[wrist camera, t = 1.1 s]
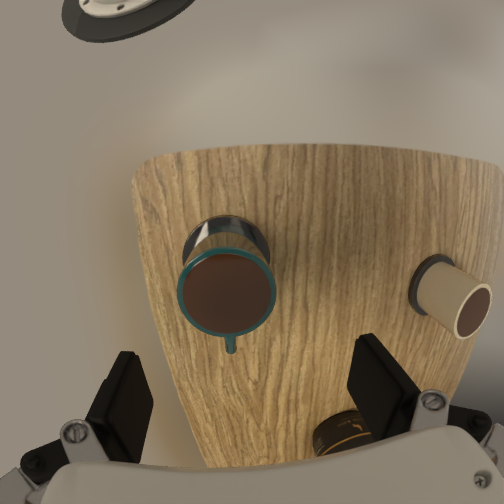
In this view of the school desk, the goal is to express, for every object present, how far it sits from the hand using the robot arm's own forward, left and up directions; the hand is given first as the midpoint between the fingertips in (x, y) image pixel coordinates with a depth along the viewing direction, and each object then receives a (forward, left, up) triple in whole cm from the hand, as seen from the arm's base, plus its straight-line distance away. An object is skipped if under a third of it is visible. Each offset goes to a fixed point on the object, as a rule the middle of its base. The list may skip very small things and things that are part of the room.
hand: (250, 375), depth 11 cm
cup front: (+1, -1, -15) cm, 15 cm away
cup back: (+5, +25, -15) cm, 30 cm away
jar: (+29, +15, -16) cm, 36 cm away
